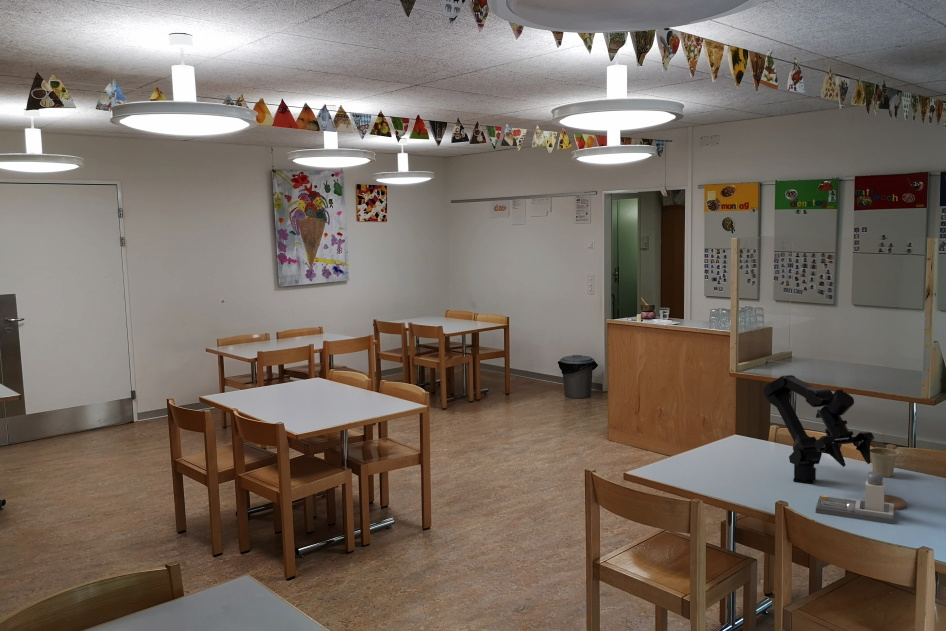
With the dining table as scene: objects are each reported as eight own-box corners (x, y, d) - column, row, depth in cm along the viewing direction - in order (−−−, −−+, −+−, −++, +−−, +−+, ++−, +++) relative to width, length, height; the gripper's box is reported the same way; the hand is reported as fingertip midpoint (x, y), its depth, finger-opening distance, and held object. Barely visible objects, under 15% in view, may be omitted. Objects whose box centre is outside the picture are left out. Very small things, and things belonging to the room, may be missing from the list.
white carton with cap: (864, 516, 230) (865, 475, 229) (865, 510, 235) (866, 470, 233) (883, 518, 228) (884, 477, 226) (883, 513, 232) (884, 472, 231)
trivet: (866, 506, 238) (866, 502, 238) (868, 495, 247) (868, 492, 247) (905, 511, 232) (906, 508, 232) (906, 500, 242) (906, 497, 242)
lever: (817, 512, 234) (817, 500, 234) (818, 510, 236) (818, 498, 235) (852, 517, 229) (853, 504, 229) (853, 515, 231) (853, 503, 230)
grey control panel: (815, 512, 234) (815, 504, 234) (819, 500, 244) (820, 492, 244) (892, 524, 223) (893, 515, 223) (893, 510, 234) (894, 502, 233)
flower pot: (895, 480, 261) (896, 456, 260) (865, 476, 266) (866, 452, 266) (899, 473, 268) (900, 450, 267) (870, 469, 274) (871, 446, 273)
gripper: (845, 432, 255) (868, 473, 246) (797, 437, 251) (818, 479, 242) (863, 415, 247) (887, 457, 237) (813, 420, 243) (836, 463, 233)
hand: (856, 464), depth 238 cm, fingers open, 9 cm apart
